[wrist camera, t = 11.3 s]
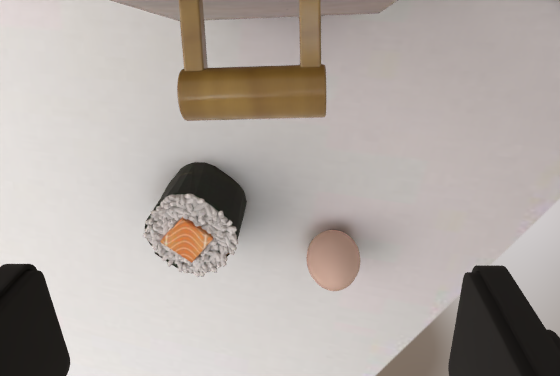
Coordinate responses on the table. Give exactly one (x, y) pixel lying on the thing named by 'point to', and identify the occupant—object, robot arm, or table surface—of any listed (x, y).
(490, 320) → the robot arm
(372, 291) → the table surface
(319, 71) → the lid
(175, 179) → the sushi
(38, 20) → the table surface
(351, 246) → the egg
